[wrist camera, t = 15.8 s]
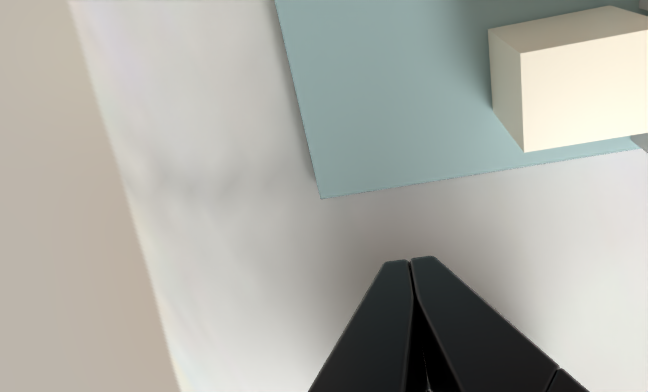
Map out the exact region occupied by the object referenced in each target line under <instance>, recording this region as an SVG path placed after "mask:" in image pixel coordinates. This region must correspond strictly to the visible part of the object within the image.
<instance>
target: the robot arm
mask: <svg viewBox="0 0 648 392" xmlns="http://www.w3.org/2000/svg"><path fill="white" fill-rule="evenodd" d="M409 264H410V265H409ZM410 270H411V271H410ZM423 353H424V354H423ZM424 359H425V361H424ZM425 366H426V367H425ZM426 372H427V374H426ZM427 378H428V381H427ZM308 392H590V391H588V390H587V389H586V388H585V387H583V386H582V385H581V384H580V383H579V382H578V381H576V380H575V379H574V378H573V377H572V376H571V375H570V374H569V373H567V372H566V371H565V370H564V369H562V368H561V369H560V367H559V365H558V364H557V363H556V362H555V361H553V360H552V359H551V358H550V357H549V356H548V355H547V354H545V353H544V352H543V351H542V350H541V349H540V348H538V347H537V346H536V345H535V344H534V343H533V342H532V341H530V340H529V339H528V338H527V337H526V336H525V335H524V334H522V333H521V332H520V331H519V330H518V329H517V328H516V327H514V326H513V325H512V324H511V323H510V322H509V321H508V320H506V319H505V318H504V317H503V316H502V315H501V314H500V313H498V312H497V311H496V310H495V309H494V308H493V307H492V306H490V305H489V304H488V303H487V302H486V301H485V300H484V299H482V298H481V297H480V296H479V295H478V294H477V293H476V292H474V291H473V290H472V289H471V288H470V287H469V286H468V285H466V284H465V283H464V282H463V281H462V280H461V279H460V278H458V277H457V276H456V275H455V274H454V273H453V272H452V271H450V270H449V269H448V268H447V267H446V266H445V265H444V264H442V263H441V262H440V261H439V260H438V259H437V258H436V257H434V256H426V257H419V258H413V259H411V260H410V262H408V261H407V260H397V261H389V262H385V263H384V264H383V265H382V267H381V269H380V270H379V272H378V274H377V275H376V277H375V279H374V280H373V282H372V284H371V286H370V287H369V289H368V291H367V292H366V294H365V296H364V297H363V299H362V301H361V302H360V304H359V306H358V308H357V309H356V311H355V313H354V314H353V316H352V318H351V319H350V321H349V323H348V324H347V326H346V328H345V330H344V331H343V333H342V335H341V336H340V338H339V340H338V341H337V343H336V345H335V347H334V348H333V350H332V352H331V353H330V355H329V357H328V358H327V360H326V362H325V363H324V365H323V367H322V369H321V370H320V372H319V374H318V375H317V377H316V379H315V380H314V382H313V384H312V385H311V387H310V389H309V391H308Z"/></svg>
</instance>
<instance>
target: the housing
mask: <svg viewBox="0 0 648 392" xmlns="http://www.w3.org/2000/svg"><path fill="white" fill-rule="evenodd" d="M275 5H276V9H277V13H278V18H279V22H280V26H281V31H282V35H283V39H284V44H285V48H286V52H287V56H288V61H289V65H290V69H291V74H292V78H293V82H294V87H295V91H296V95H297V100H298V104H299V108H300V112H301V117H302V121H303V125H304V130H305V134H306V138H307V143H308V147H309V151H310V156H311V160H312V164H313V168H314V173H315V177H316V181H317V186H318V190H319V194H320V199H326V198H332V197H338V196H344V195H351V194H357V193H363V192H370V191H376V190H382V189H389V188H395V187H401V186H407V185H414V184H420V183H426V182H433V181H439V180H445V179H452V178H458V177H464V176H470V175H477V174H483V173H489V172H496V171H502V170H508V169H515V168H521V167H527V166H533V165H540V164H546V163H552V162H559V161H565V160H571V159H577V158H584V157H590V156H596V155H603V154H609V153H615V152H622V151H628V150H634V149H640V148H642V149H643V150H644V151H646V152H647V153H648V133H643V134H637V135H630V136H624V137H618V138H612V139H606V140H600V141H593V142H587V143H581V144H575V145H569V146H563V147H556V148H550V149H544V150H538V151H532V152H526V153H524V152H523V151H522V149H521V148H520V147H519V145H518V144H517V143H516V141H515V140H514V139H513V137H512V136H511V135H510V134H509V132H508V131H507V130H506V128H505V127H504V126H503V124H502V123H501V122H500V120H499V119H498V118H497V116H496V115H495V114H494V112H493V106H492V90H491V74H490V59H489V43H488V29H491V28H496V27H501V26H506V25H511V24H516V23H521V22H527V21H532V20H537V19H542V18H547V17H552V16H557V15H562V14H568V13H573V12H578V11H583V10H588V9H593V8H598V7H603V6H608V5H611V6H614V7H618V8H621V9H624V10H628V11H631V12H635V13H638V14H641V15H645V16H648V0H275Z"/></svg>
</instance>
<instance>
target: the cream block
mask: <svg viewBox="0 0 648 392" xmlns="http://www.w3.org/2000/svg"><path fill="white" fill-rule="evenodd" d="M488 43H489V59H490V74H491V90H492V106H493V112H494V114H495V115H496V116H497V118H498V119H499V120H500V122H501V123H502V124H503V126H504V127H505V128H506V130H507V131H508V132H509V134H510V135H511V136H512V137H513V139H514V140H515V141H516V143H517V144H518V145H519V147H520V148H521V149H522V151H523V152H524V153H526V152H532V151H538V150H544V149H550V148H556V147H563V146H569V145H575V144H581V143H587V142H593V141H600V140H606V139H612V138H618V137H624V136H630V135H637V134H643V133H648V16H645V15H641V14H638V13H635V12H631V11H628V10H624V9H621V8H618V7H614V6H611V5H608V6H603V7H598V8H593V9H588V10H583V11H578V12H573V13H568V14H562V15H557V16H552V17H547V18H542V19H537V20H532V21H527V22H521V23H516V24H511V25H506V26H501V27H496V28H491V29H488Z"/></svg>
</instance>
